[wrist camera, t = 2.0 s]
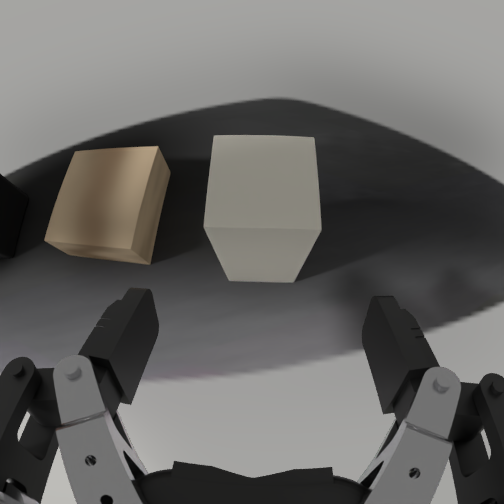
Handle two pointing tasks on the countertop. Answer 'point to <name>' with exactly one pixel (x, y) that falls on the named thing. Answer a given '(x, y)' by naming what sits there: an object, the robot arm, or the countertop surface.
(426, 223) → the countertop surface
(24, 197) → the battery
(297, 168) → the cream block
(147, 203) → the oak plinth
